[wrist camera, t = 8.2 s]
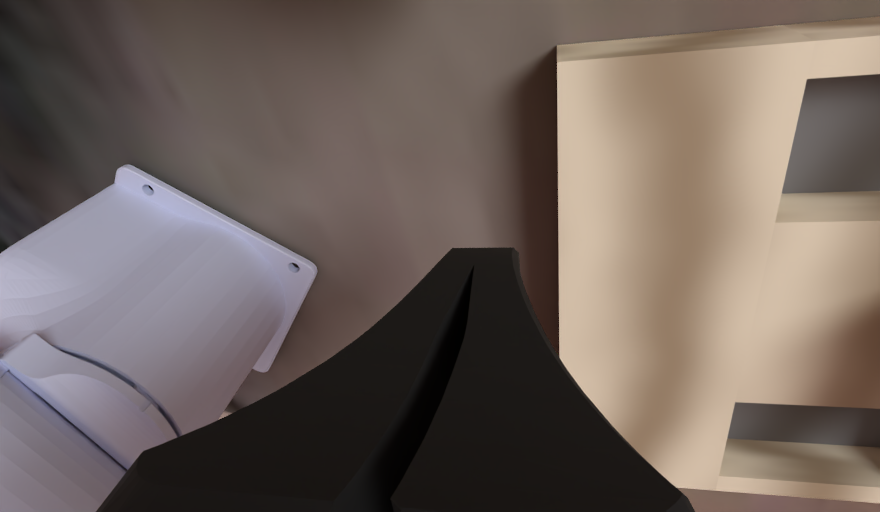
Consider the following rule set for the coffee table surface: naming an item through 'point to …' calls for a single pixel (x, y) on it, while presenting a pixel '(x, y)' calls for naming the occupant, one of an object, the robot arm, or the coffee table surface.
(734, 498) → the coffee table surface
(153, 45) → the coffee table surface
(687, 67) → the trap board
